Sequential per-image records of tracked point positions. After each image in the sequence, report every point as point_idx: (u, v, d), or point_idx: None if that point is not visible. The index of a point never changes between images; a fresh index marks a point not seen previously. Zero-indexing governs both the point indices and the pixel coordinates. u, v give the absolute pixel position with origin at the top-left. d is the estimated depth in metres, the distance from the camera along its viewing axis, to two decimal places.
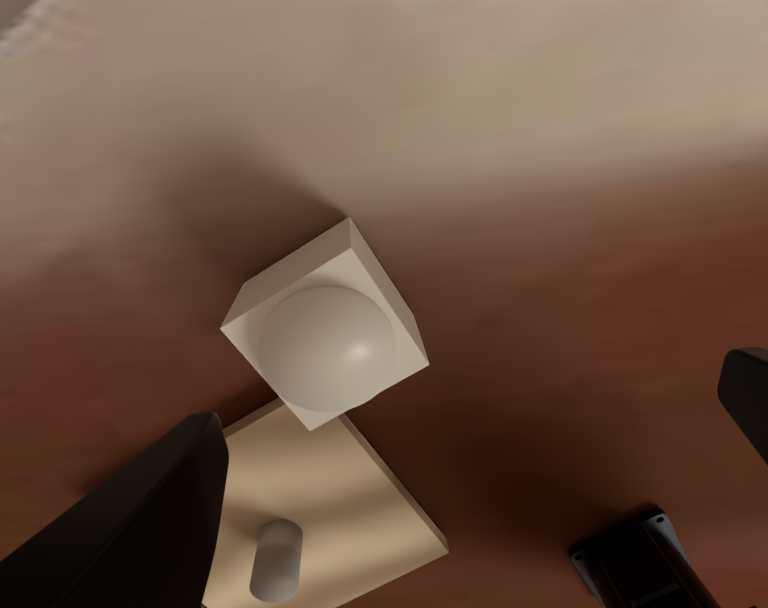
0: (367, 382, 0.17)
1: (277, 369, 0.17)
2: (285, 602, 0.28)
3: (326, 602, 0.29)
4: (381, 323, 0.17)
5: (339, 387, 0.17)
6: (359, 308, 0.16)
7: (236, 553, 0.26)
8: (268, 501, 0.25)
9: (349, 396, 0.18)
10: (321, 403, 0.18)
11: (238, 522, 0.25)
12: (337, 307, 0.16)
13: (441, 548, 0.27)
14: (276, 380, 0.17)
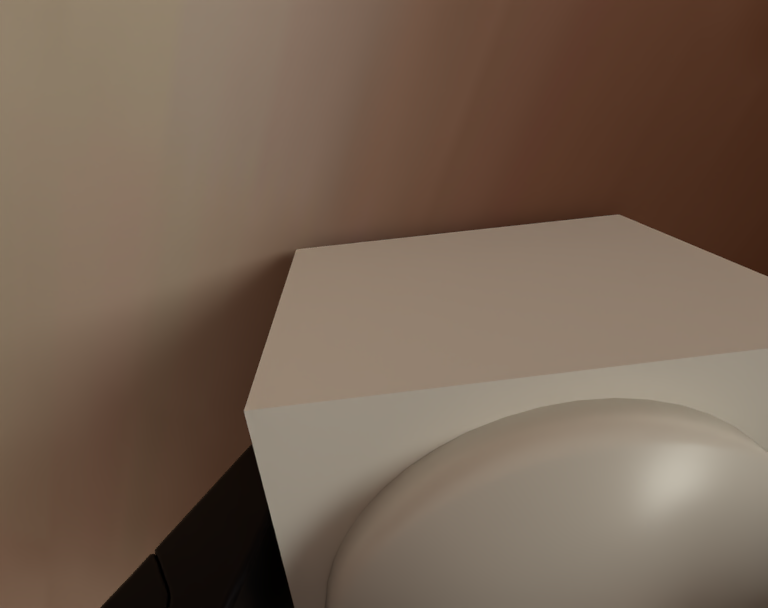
0: None
1: None
2: None
3: None
4: (607, 472, 0.04)
5: None
6: (487, 518, 0.04)
7: None
8: None
9: None
10: None
11: None
12: (434, 578, 0.04)
13: None
14: None
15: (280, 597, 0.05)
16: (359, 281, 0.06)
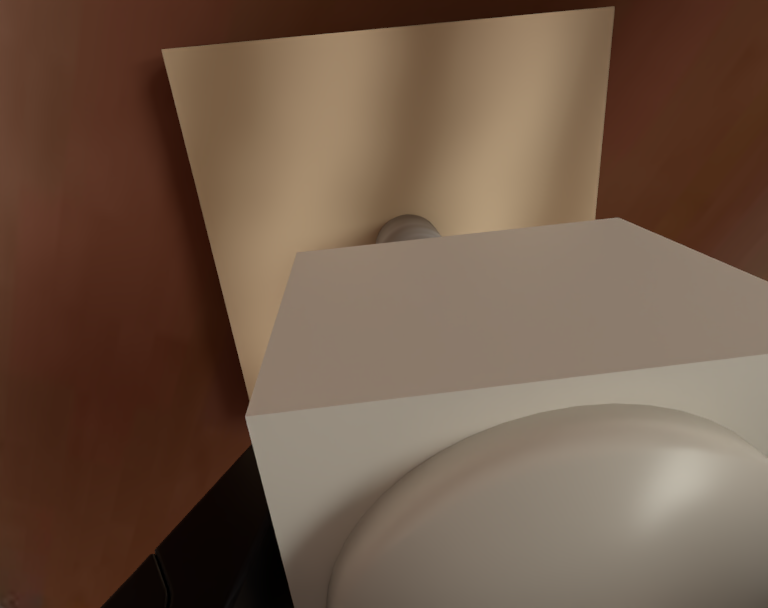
0: None
1: None
2: None
3: None
4: (606, 478, 0.04)
5: None
6: (487, 524, 0.04)
7: None
8: (338, 228, 0.17)
9: None
10: None
11: None
12: (434, 583, 0.04)
13: (595, 16, 0.15)
14: None
15: (280, 597, 0.05)
16: (359, 285, 0.06)
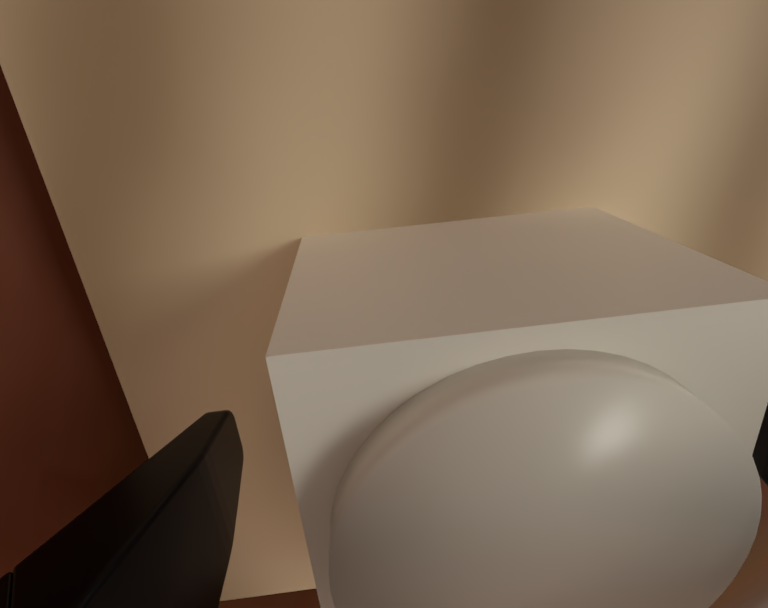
0: (705, 510, 0.05)
1: None
2: None
3: None
4: (555, 402, 0.04)
5: (657, 573, 0.06)
6: (461, 441, 0.05)
7: None
8: None
9: (703, 562, 0.06)
10: None
11: None
12: (419, 494, 0.05)
13: None
14: None
15: None
16: (358, 262, 0.07)
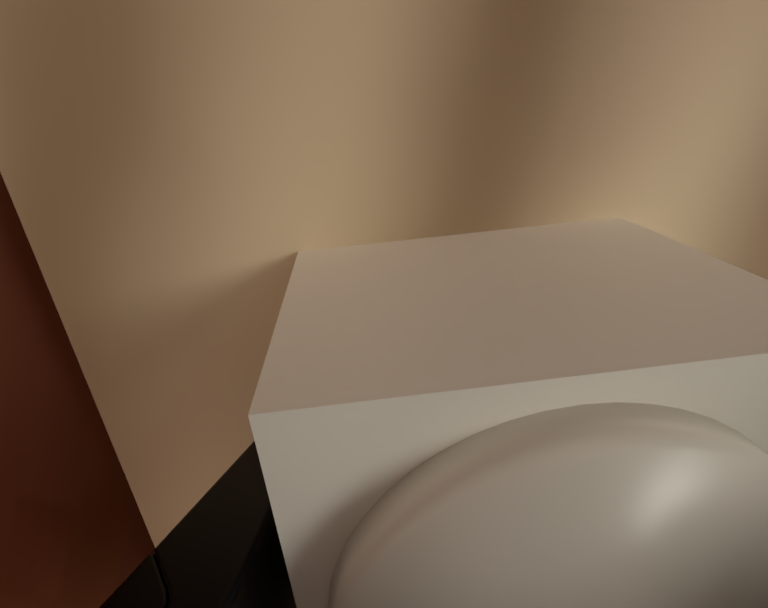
0: None
1: None
2: None
3: None
4: (610, 476, 0.04)
5: None
6: (490, 522, 0.04)
7: None
8: None
9: None
10: None
11: None
12: (437, 581, 0.04)
13: None
14: None
15: (279, 597, 0.05)
16: (361, 284, 0.06)
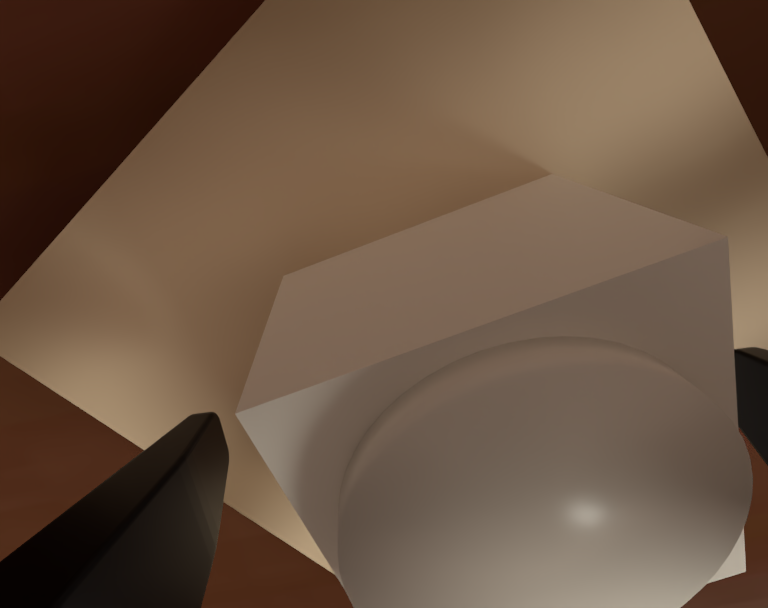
0: (689, 464, 0.05)
1: None
2: None
3: None
4: (496, 400, 0.05)
5: (662, 531, 0.06)
6: (420, 453, 0.05)
7: None
8: None
9: (706, 512, 0.06)
10: (686, 574, 0.06)
11: None
12: (400, 505, 0.05)
13: None
14: None
15: None
16: (327, 293, 0.08)
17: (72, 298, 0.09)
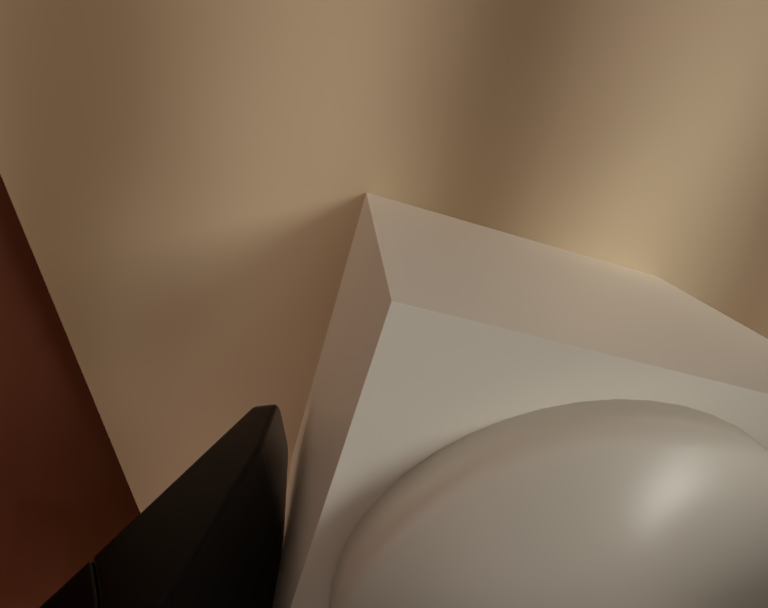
0: (630, 509, 0.04)
1: None
2: None
3: None
4: None
5: (702, 561, 0.04)
6: None
7: None
8: None
9: (729, 513, 0.04)
10: None
11: None
12: None
13: None
14: None
15: (225, 604, 0.05)
16: (294, 487, 0.08)
17: None
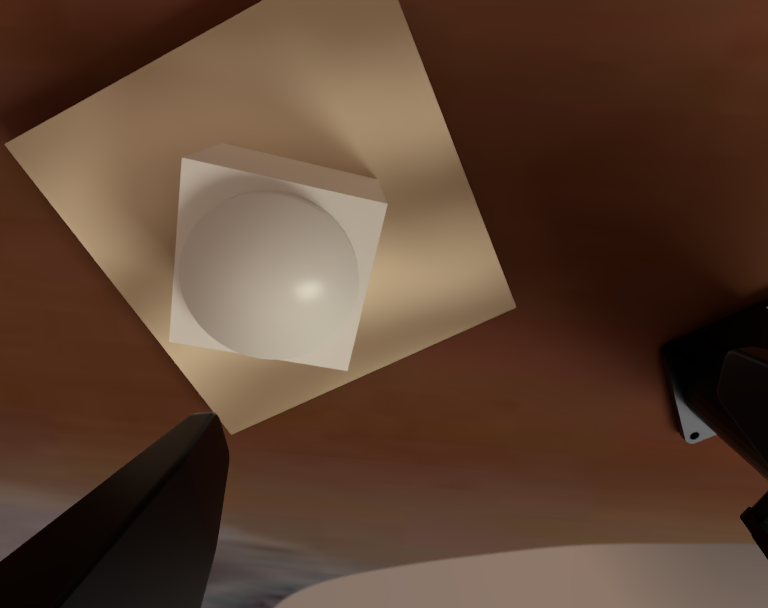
0: (259, 218, 0.12)
1: (331, 311, 0.14)
2: (279, 362, 0.20)
3: (336, 371, 0.20)
4: (186, 269, 0.13)
5: (293, 240, 0.13)
6: (196, 300, 0.13)
7: None
8: None
9: (293, 220, 0.13)
10: (329, 239, 0.13)
11: None
12: (217, 318, 0.14)
13: (507, 298, 0.20)
14: (344, 302, 0.14)
15: None
16: None
17: (73, 141, 0.16)
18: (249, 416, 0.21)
